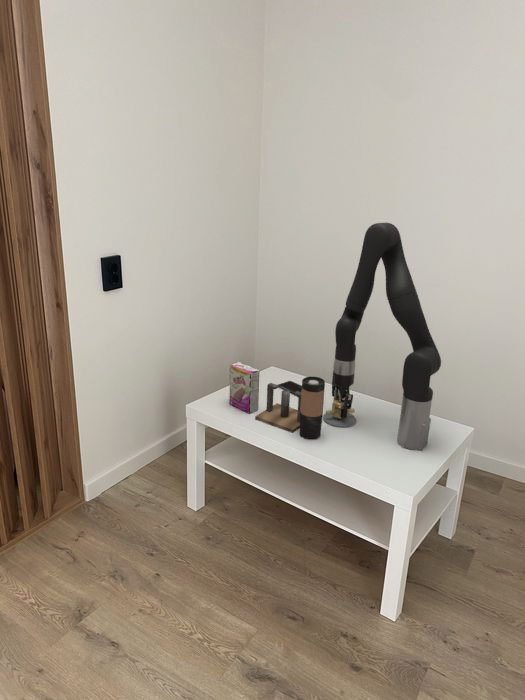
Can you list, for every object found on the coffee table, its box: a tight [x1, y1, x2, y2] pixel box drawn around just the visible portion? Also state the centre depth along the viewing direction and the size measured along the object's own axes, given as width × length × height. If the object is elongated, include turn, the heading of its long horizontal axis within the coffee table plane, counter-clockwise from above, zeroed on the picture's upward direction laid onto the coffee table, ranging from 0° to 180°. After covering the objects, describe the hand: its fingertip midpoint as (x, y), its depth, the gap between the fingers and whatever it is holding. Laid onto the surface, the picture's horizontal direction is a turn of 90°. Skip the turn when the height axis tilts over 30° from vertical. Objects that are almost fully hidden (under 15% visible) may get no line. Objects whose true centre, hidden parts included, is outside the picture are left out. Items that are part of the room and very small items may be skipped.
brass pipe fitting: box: [325, 398, 356, 418], centre depth 198 cm, size 11×6×5 cm, turn 105°
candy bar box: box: [228, 361, 260, 415], centre depth 204 cm, size 11×5×16 cm, turn 46°
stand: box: [254, 382, 301, 433], centre depth 197 cm, size 16×14×12 cm
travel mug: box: [299, 376, 326, 440], centre depth 185 cm, size 8×8×20 cm
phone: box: [277, 380, 302, 396], centre depth 223 cm, size 8×1×15 cm
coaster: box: [322, 412, 357, 429], centre depth 200 cm, size 12×12×1 cm
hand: (340, 413), depth 199 cm, fingers closed on brass pipe fitting, 5 cm apart
